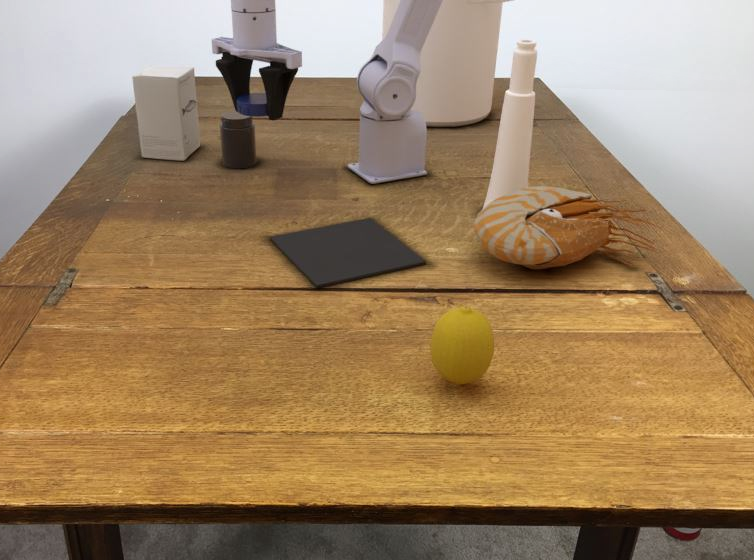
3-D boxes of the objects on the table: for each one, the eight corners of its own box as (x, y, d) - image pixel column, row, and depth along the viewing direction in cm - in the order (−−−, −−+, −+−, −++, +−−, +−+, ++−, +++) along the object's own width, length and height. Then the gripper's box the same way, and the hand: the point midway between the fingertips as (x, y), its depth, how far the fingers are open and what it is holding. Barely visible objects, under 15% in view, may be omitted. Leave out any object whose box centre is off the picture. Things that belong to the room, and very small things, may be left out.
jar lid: (274, 117, 106) (273, 105, 105) (232, 115, 106) (231, 102, 106) (284, 105, 111) (283, 93, 110) (243, 103, 111) (243, 91, 110)
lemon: (422, 368, 73) (428, 292, 69) (480, 365, 74) (490, 290, 69) (433, 403, 68) (440, 325, 64) (495, 400, 69) (506, 322, 65)
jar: (215, 164, 120) (211, 116, 116) (236, 155, 124) (233, 108, 120) (242, 171, 118) (240, 121, 114) (263, 161, 121) (261, 113, 117)
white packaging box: (185, 161, 121) (177, 77, 114) (140, 158, 122) (129, 74, 115) (202, 146, 127) (195, 66, 120) (159, 143, 128) (149, 63, 121)
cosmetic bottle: (512, 228, 100) (536, 49, 89) (472, 215, 104) (490, 41, 92) (536, 214, 104) (562, 41, 92) (497, 202, 108) (518, 34, 96)
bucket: (522, 109, 147) (542, -39, 134) (473, 140, 131) (490, -25, 118) (402, 89, 158) (409, -49, 145) (343, 115, 142) (345, -37, 129)
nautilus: (645, 245, 98) (662, 309, 85) (472, 220, 100) (465, 279, 88) (664, 186, 93) (684, 244, 81) (482, 162, 96) (476, 215, 84)
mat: (370, 220, 102) (370, 217, 102) (426, 264, 92) (426, 261, 91) (269, 239, 97) (269, 236, 97) (316, 288, 86) (316, 285, 86)
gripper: (191, 7, 103) (200, 111, 110) (274, 20, 95) (278, 131, 102) (229, 0, 107) (236, 100, 115) (311, 12, 100) (313, 118, 107)
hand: (258, 114), depth 109 cm, fingers closed on jar lid, 6 cm apart
